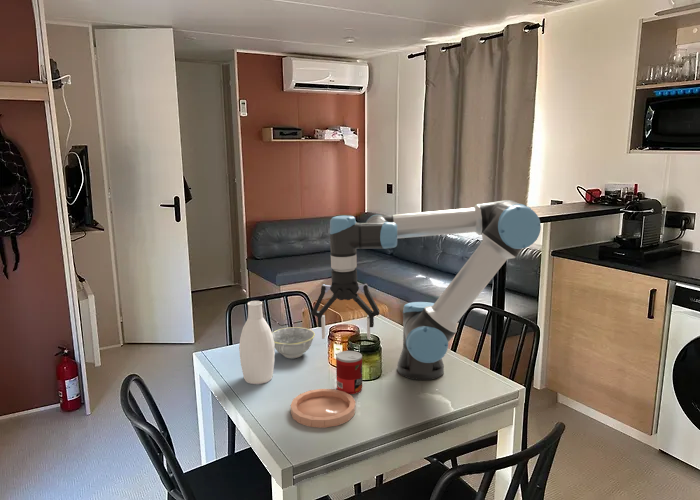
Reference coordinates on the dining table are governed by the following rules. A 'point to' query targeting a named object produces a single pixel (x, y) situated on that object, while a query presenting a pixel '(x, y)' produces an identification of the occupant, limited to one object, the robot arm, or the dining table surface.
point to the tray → (323, 408)
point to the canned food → (349, 371)
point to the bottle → (256, 347)
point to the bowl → (292, 341)
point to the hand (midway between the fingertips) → (346, 337)
